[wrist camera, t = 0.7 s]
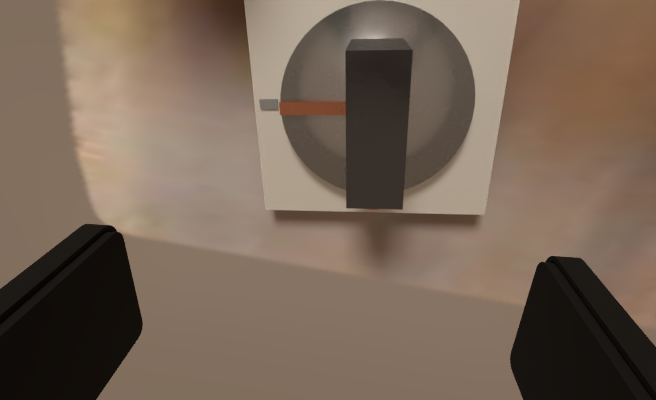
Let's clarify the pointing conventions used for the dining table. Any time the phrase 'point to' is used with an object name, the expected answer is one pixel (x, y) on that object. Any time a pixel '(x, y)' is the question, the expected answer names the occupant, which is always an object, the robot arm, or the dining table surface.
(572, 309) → the robot arm
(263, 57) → the dial base
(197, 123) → the dining table surface
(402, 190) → the dial
